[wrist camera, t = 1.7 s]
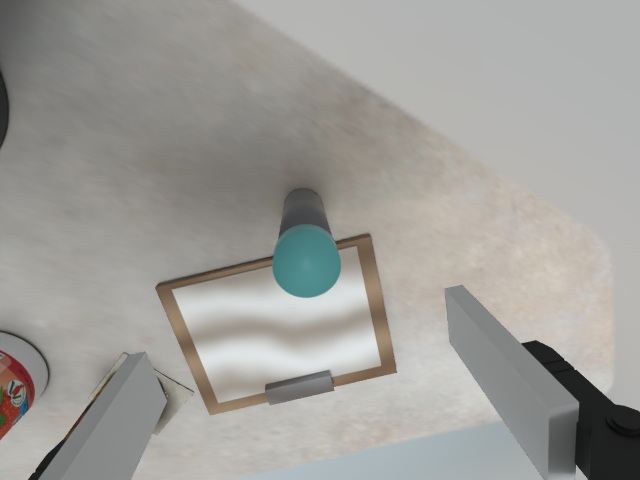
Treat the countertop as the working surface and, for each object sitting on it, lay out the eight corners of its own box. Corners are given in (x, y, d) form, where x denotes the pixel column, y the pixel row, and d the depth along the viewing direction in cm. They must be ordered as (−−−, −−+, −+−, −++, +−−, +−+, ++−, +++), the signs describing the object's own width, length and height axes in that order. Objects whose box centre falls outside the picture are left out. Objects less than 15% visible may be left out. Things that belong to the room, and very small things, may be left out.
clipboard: (158, 284, 34) (150, 292, 32) (369, 234, 34) (373, 240, 32) (211, 409, 39) (207, 423, 38) (395, 367, 39) (399, 379, 37)
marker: (278, 193, 32) (263, 243, 19) (318, 183, 32) (332, 227, 19) (288, 231, 33) (282, 304, 20) (327, 222, 33) (347, 289, 20)
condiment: (124, 351, 37) (45, 455, 25) (194, 391, 39) (150, 503, 27) (89, 397, 38) (0, 514, 27) (158, 433, 40) (103, 555, 29)
